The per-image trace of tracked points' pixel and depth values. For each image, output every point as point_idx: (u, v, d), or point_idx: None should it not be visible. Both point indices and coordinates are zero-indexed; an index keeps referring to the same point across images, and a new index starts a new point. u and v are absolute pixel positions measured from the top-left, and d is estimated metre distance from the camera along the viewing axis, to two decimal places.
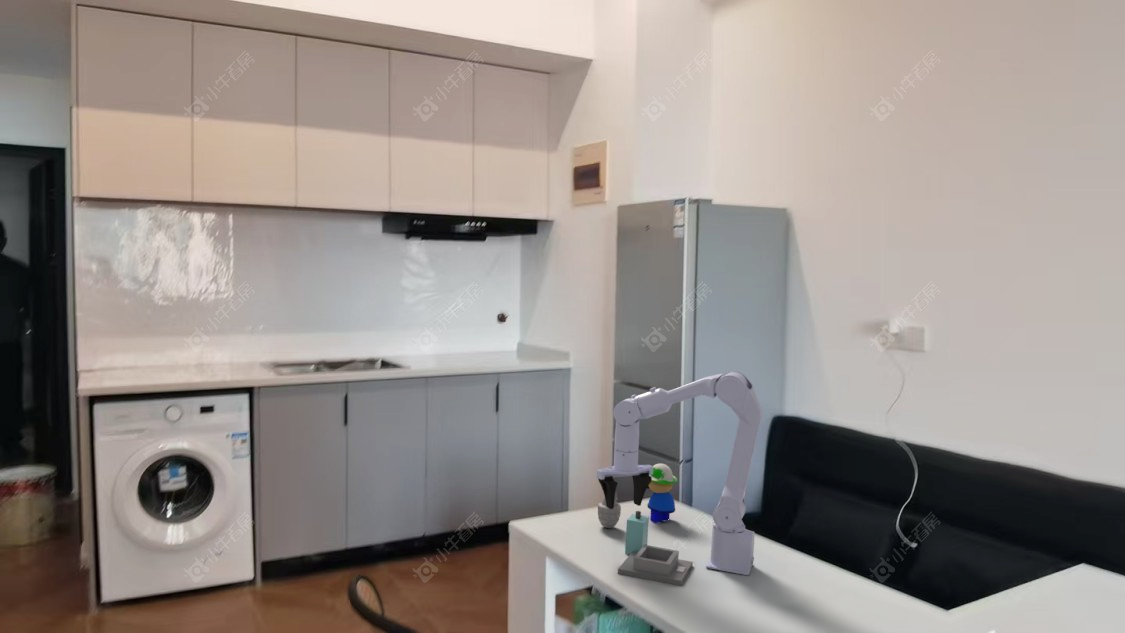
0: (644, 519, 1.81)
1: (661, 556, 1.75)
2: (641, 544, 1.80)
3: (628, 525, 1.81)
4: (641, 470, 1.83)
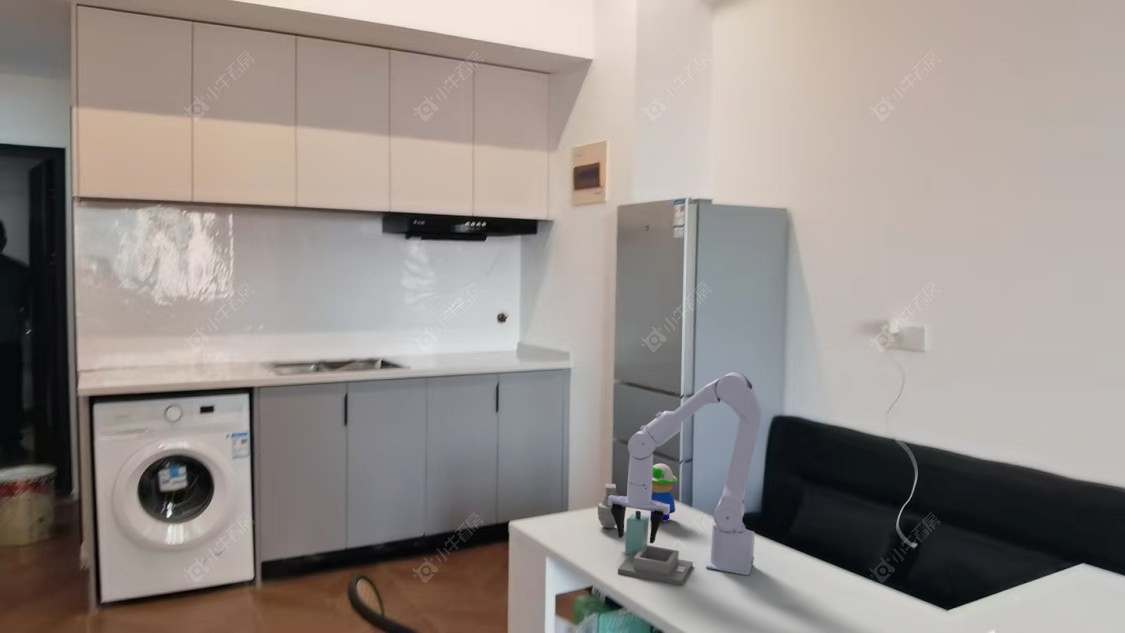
0: (644, 519, 1.81)
1: (661, 556, 1.75)
2: (641, 544, 1.80)
3: (628, 525, 1.81)
4: (649, 506, 1.79)
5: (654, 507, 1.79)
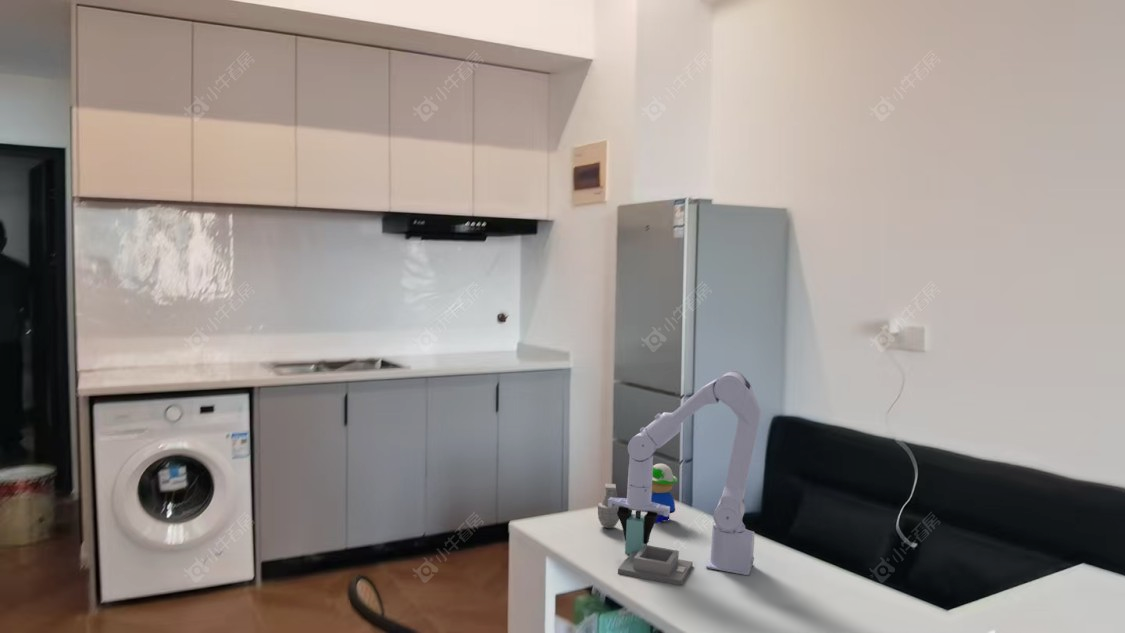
0: None
1: (661, 556, 1.75)
2: (641, 544, 1.80)
3: (628, 525, 1.81)
4: (649, 508, 1.79)
5: (654, 509, 1.79)
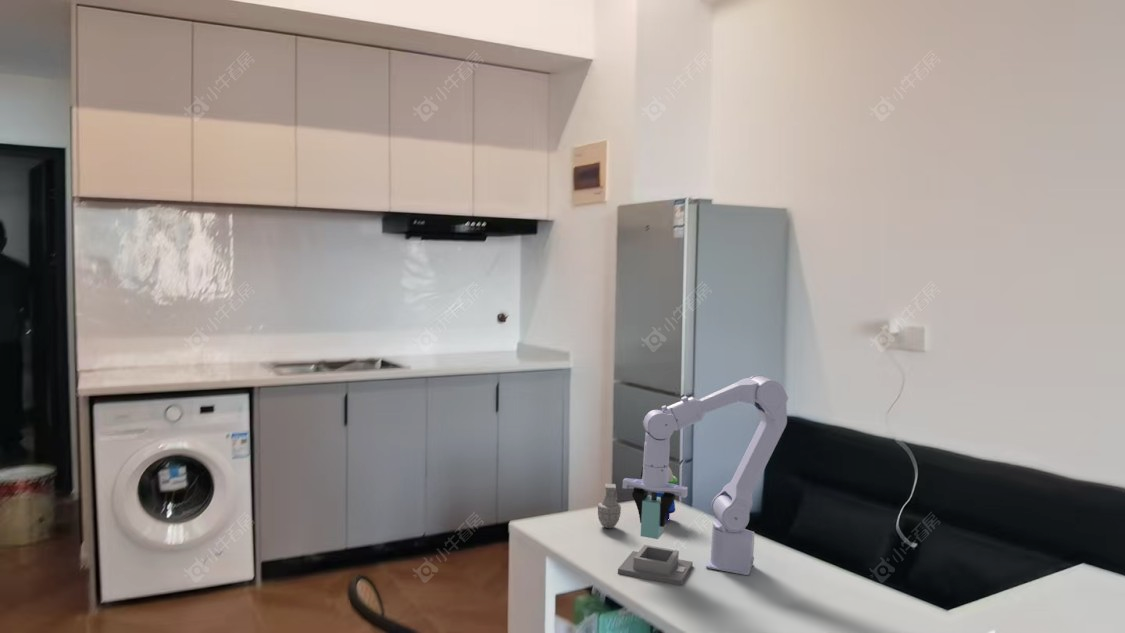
0: (660, 500, 1.73)
1: (661, 556, 1.75)
2: (657, 526, 1.71)
3: (644, 507, 1.72)
4: (666, 489, 1.71)
5: (671, 490, 1.71)
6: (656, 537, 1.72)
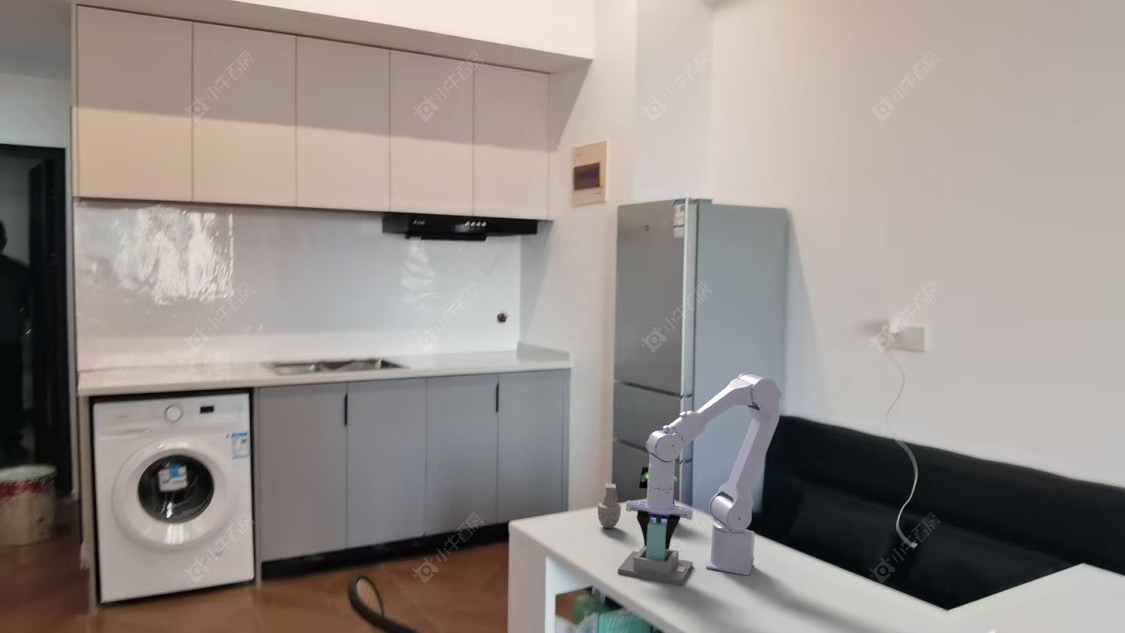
0: (665, 523, 1.71)
1: None
2: (663, 550, 1.69)
3: (649, 530, 1.69)
4: (672, 511, 1.68)
5: (677, 512, 1.68)
6: (662, 560, 1.69)
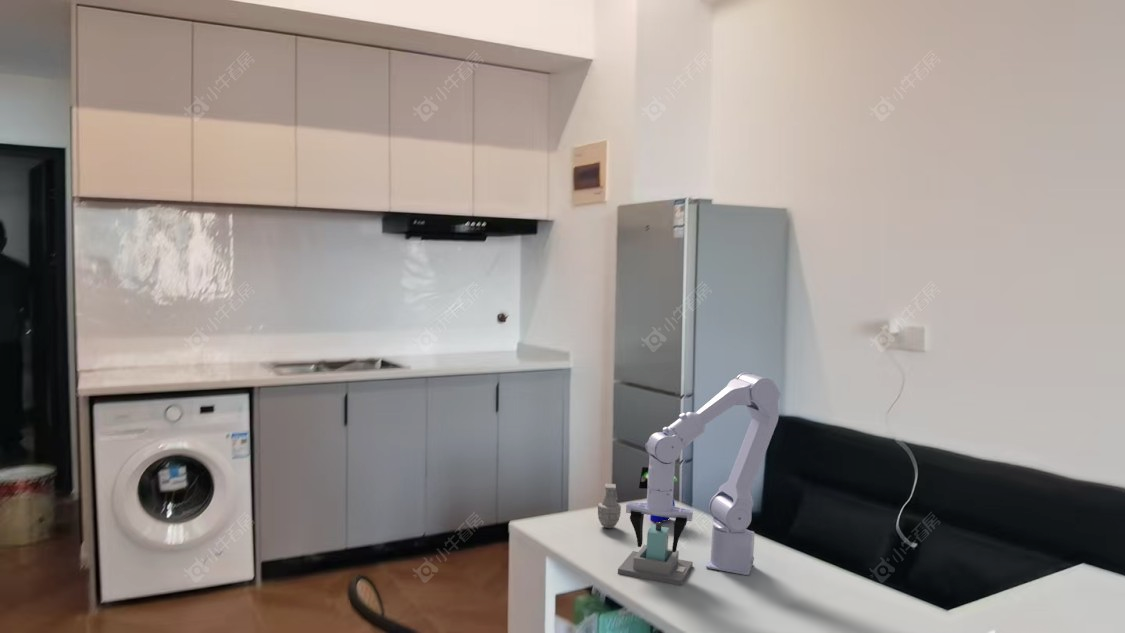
0: (665, 531, 1.71)
1: None
2: (663, 558, 1.69)
3: (649, 538, 1.69)
4: (672, 513, 1.68)
5: (677, 514, 1.68)
6: None
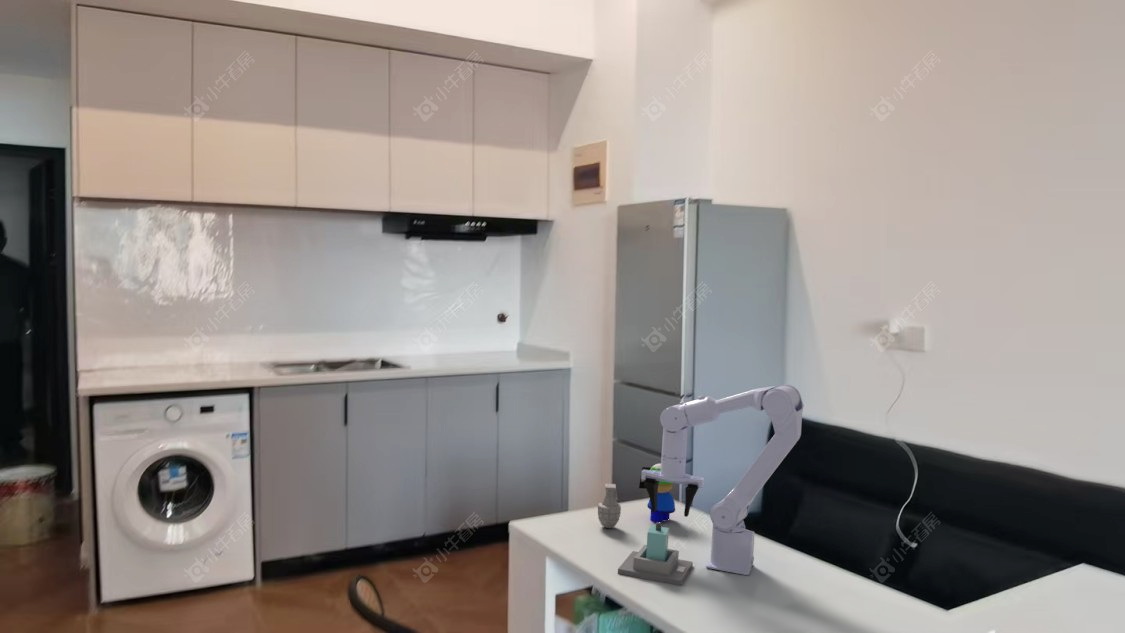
0: (665, 531, 1.71)
1: None
2: (663, 558, 1.69)
3: (649, 538, 1.69)
4: (684, 479, 1.79)
5: (689, 480, 1.79)
6: None
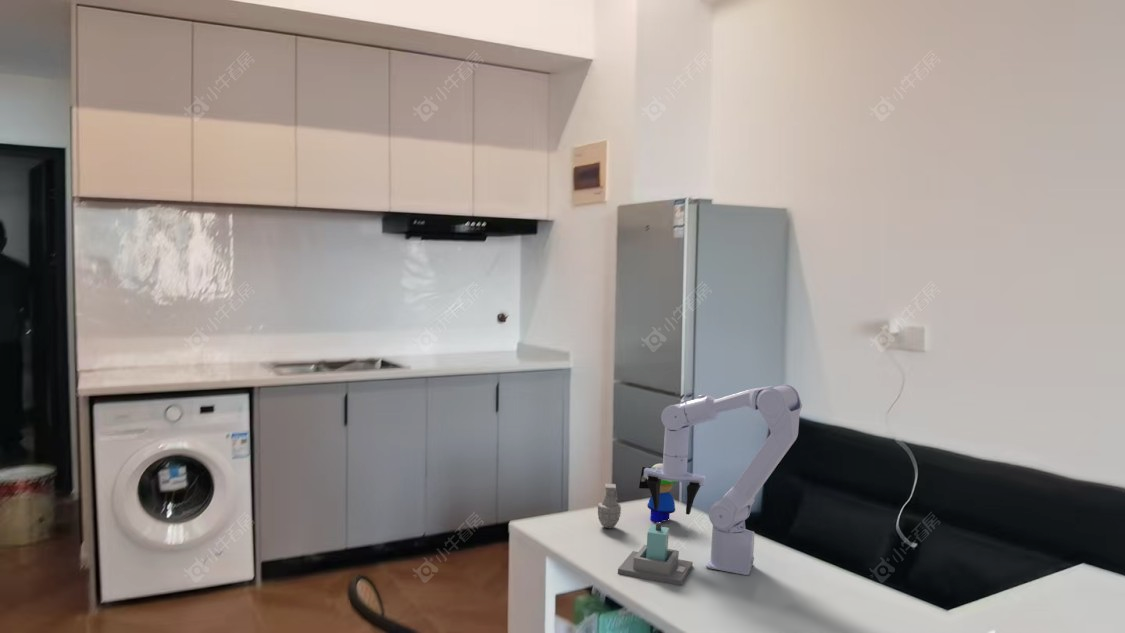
0: (665, 531, 1.71)
1: None
2: (663, 558, 1.69)
3: (649, 538, 1.69)
4: (685, 478, 1.81)
5: (690, 478, 1.81)
6: None
